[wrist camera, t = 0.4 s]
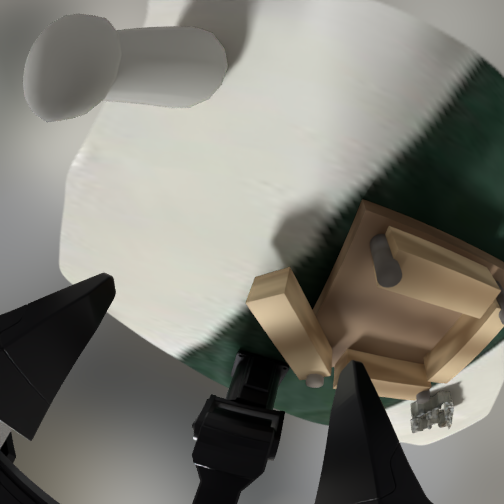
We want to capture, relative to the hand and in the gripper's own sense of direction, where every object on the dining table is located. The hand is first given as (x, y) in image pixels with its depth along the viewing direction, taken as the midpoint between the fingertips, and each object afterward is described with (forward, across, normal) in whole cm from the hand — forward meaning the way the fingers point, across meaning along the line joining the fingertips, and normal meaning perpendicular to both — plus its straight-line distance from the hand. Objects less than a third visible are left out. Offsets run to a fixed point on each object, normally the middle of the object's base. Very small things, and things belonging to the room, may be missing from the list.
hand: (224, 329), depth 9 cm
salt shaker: (+13, +8, -8) cm, 17 cm away
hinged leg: (+11, -5, +10) cm, 15 cm away
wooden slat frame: (+13, -14, +6) cm, 21 cm away
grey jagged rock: (+14, -34, +24) cm, 44 cm away
